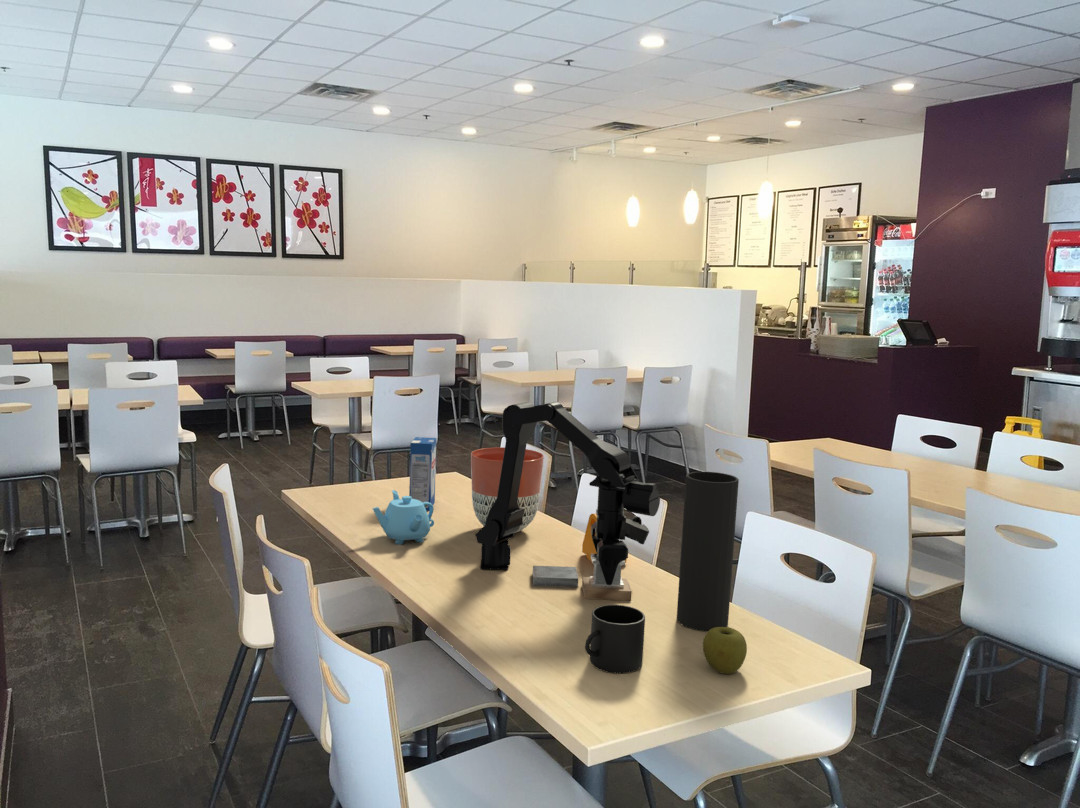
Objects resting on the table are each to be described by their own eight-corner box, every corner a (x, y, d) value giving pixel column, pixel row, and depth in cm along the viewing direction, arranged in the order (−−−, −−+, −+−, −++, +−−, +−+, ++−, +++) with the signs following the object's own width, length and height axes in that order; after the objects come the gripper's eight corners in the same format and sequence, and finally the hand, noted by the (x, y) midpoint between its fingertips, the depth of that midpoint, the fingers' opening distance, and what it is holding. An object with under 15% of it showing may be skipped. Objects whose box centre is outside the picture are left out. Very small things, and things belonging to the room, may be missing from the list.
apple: (738, 660, 154) (741, 623, 153) (750, 680, 146) (753, 641, 145) (697, 659, 154) (699, 622, 153) (707, 679, 146) (710, 640, 145)
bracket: (627, 566, 206) (630, 517, 204) (600, 568, 203) (603, 519, 201) (607, 552, 215) (610, 506, 214) (582, 555, 213) (584, 508, 211)
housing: (591, 587, 183) (592, 560, 183) (589, 579, 188) (590, 553, 188) (623, 588, 184) (625, 561, 183) (620, 580, 189) (622, 554, 188)
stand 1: (533, 585, 189) (533, 577, 188) (532, 573, 197) (532, 565, 196) (577, 587, 189) (578, 578, 189) (575, 575, 197) (575, 566, 197)
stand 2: (584, 598, 182) (585, 589, 182) (582, 585, 190) (582, 577, 190) (631, 600, 182) (631, 591, 182) (626, 587, 190) (626, 578, 190)
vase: (666, 618, 173) (675, 474, 169) (700, 608, 179) (710, 469, 175) (703, 635, 165) (714, 484, 161) (738, 625, 171) (749, 479, 167)
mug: (567, 662, 151) (569, 613, 149) (617, 647, 158) (620, 600, 157) (602, 682, 143) (604, 631, 142) (653, 666, 150) (656, 617, 149)
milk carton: (430, 510, 248) (431, 443, 245) (408, 510, 248) (410, 442, 246) (434, 502, 258) (436, 437, 255) (414, 501, 258) (415, 437, 255)
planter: (554, 536, 228) (558, 457, 225) (492, 546, 217) (495, 463, 214) (515, 518, 244) (517, 445, 241) (455, 527, 232) (457, 450, 230)
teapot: (365, 542, 216) (366, 498, 214) (392, 528, 228) (393, 487, 227) (419, 550, 211) (420, 506, 209) (443, 536, 223) (444, 494, 222)
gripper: (654, 521, 175) (649, 593, 177) (641, 499, 193) (637, 565, 195) (600, 519, 174) (596, 592, 176) (592, 497, 193) (589, 563, 195)
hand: (606, 577), depth 186 cm, fingers open, 9 cm apart
